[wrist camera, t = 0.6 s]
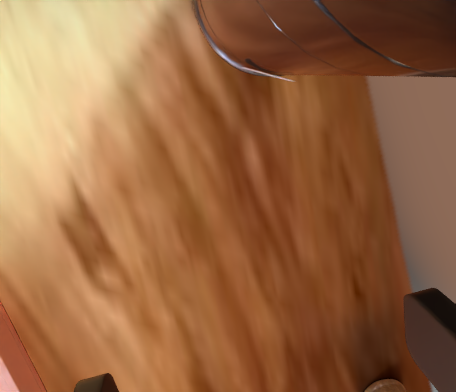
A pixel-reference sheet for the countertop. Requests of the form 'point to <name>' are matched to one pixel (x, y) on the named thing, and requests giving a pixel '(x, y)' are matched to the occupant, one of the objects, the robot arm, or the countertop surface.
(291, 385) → the countertop surface
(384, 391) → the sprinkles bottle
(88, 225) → the countertop surface
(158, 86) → the countertop surface
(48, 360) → the countertop surface
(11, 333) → the red tray
